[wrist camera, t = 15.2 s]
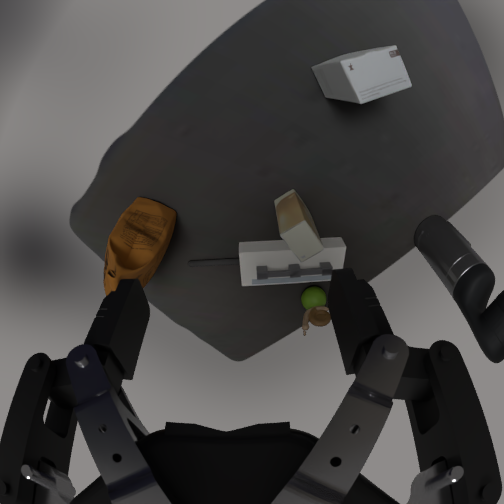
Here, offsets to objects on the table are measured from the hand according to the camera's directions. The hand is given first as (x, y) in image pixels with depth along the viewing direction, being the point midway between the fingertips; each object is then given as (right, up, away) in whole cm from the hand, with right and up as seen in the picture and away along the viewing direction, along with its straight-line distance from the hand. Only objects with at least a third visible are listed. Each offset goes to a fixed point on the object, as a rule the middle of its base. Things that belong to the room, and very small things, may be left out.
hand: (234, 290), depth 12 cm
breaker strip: (+3, 0, +46) cm, 46 cm away
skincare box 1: (+8, +10, +40) cm, 42 cm away
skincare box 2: (+15, +30, +26) cm, 42 cm away
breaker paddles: (+9, -1, +43) cm, 44 cm away
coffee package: (-19, +7, +41) cm, 46 cm away
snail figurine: (+13, -7, +52) cm, 54 cm away
